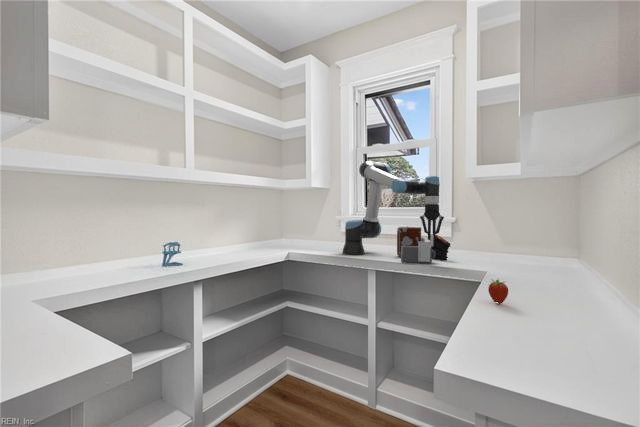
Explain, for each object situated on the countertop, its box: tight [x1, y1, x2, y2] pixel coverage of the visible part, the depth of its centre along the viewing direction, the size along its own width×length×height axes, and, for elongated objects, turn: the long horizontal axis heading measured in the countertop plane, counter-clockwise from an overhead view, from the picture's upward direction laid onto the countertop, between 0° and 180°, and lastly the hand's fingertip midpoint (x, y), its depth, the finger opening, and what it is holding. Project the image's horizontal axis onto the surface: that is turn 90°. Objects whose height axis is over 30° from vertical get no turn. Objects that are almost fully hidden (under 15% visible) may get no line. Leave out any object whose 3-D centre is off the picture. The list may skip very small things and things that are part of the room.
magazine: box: [430, 234, 451, 262], centre depth 192 cm, size 4×13×15 cm, turn 29°
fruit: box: [488, 277, 509, 304], centre depth 97 cm, size 5×5×8 cm
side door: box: [418, 241, 431, 262], centre depth 174 cm, size 6×1×11 cm, turn 80°
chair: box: [161, 241, 184, 267], centre depth 160 cm, size 8×8×12 cm
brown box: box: [396, 225, 426, 258], centre depth 203 cm, size 9×19×20 cm, turn 89°
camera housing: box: [400, 245, 435, 265], centre depth 180 cm, size 18×10×10 cm, turn 80°
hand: (431, 245), depth 174 cm, fingers closed
